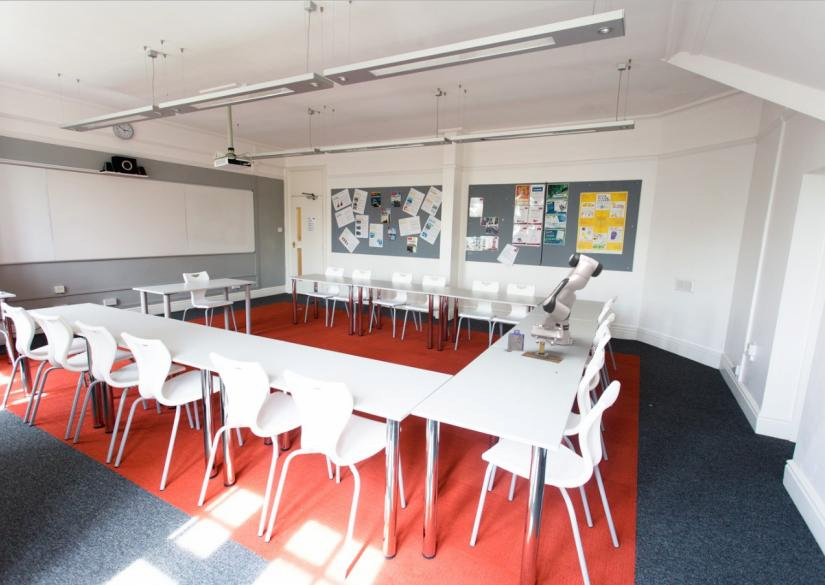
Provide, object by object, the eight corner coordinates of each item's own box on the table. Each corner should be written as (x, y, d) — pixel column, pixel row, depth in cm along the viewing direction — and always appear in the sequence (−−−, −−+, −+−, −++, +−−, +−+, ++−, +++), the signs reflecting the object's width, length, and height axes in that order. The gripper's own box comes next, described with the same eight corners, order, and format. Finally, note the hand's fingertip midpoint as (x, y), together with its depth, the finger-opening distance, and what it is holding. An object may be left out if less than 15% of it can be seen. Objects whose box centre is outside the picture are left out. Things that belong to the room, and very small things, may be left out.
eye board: (527, 353, 269) (527, 347, 268) (564, 360, 255) (564, 354, 254) (520, 357, 259) (521, 351, 258) (558, 365, 245) (559, 359, 244)
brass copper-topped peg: (539, 356, 257) (540, 341, 256) (544, 357, 255) (545, 342, 254) (538, 357, 255) (539, 342, 253) (542, 358, 253) (544, 343, 251)
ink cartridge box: (523, 351, 273) (525, 330, 271) (521, 353, 268) (523, 332, 266) (509, 349, 277) (510, 328, 275) (507, 351, 272) (508, 330, 270)
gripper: (532, 321, 265) (527, 338, 258) (564, 325, 255) (560, 343, 248) (533, 326, 270) (528, 344, 263) (565, 331, 259) (561, 349, 252)
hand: (544, 343), depth 255 cm, fingers open, 8 cm apart
